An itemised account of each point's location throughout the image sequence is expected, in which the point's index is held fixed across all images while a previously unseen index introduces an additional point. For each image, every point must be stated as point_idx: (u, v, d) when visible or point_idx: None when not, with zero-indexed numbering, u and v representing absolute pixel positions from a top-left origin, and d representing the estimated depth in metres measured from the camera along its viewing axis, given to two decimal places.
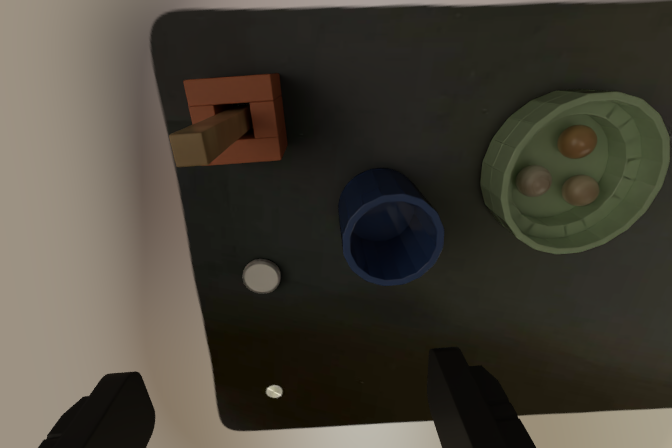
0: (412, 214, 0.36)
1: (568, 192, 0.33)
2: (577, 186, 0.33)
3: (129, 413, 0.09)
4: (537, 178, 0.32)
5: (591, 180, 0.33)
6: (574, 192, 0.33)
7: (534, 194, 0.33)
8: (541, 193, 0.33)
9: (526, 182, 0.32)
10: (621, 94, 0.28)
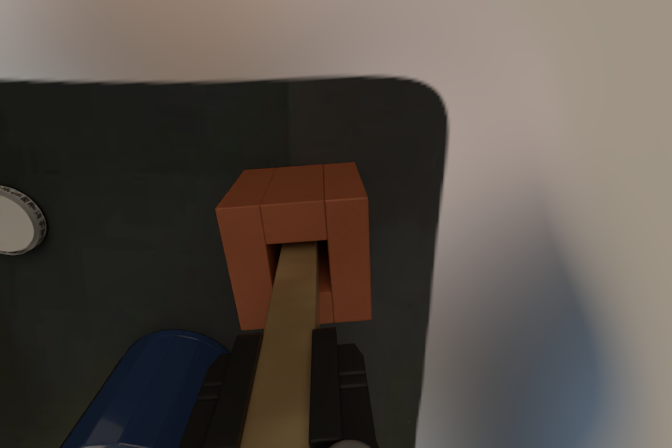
0: None
1: None
2: None
3: None
4: None
5: None
6: None
7: None
8: None
9: None
10: None
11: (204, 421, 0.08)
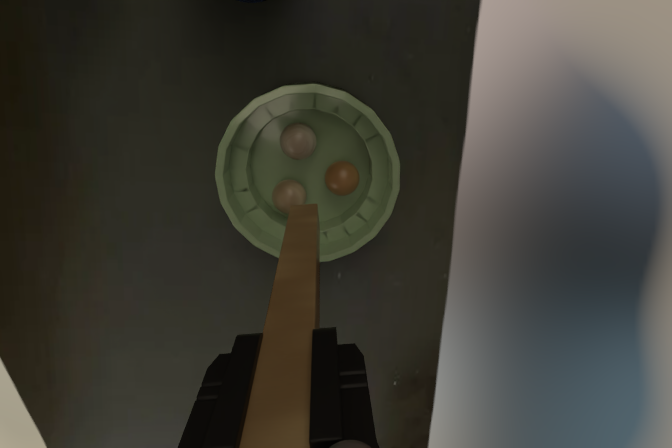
0: None
1: (288, 182, 0.30)
2: (296, 188, 0.30)
3: None
4: (305, 138, 0.28)
5: (303, 201, 0.30)
6: (289, 186, 0.30)
7: (285, 140, 0.28)
8: (287, 147, 0.28)
9: (298, 128, 0.28)
10: (396, 193, 0.28)
11: (204, 421, 0.08)
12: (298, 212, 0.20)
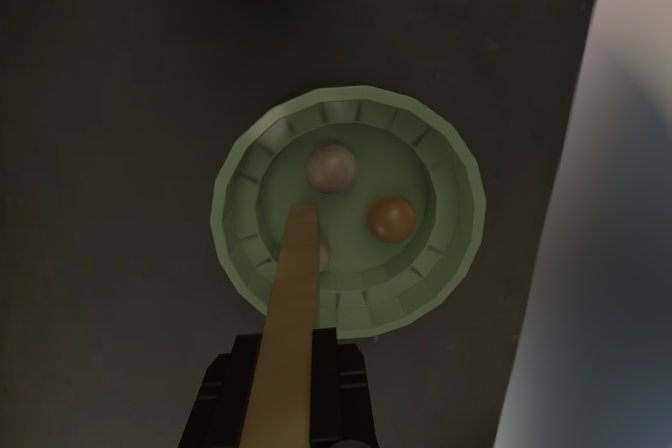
0: None
1: None
2: None
3: None
4: (344, 165, 0.19)
5: (321, 269, 0.22)
6: None
7: (314, 168, 0.19)
8: (316, 179, 0.19)
9: (334, 150, 0.19)
10: (477, 246, 0.19)
11: (203, 421, 0.08)
12: (298, 211, 0.20)
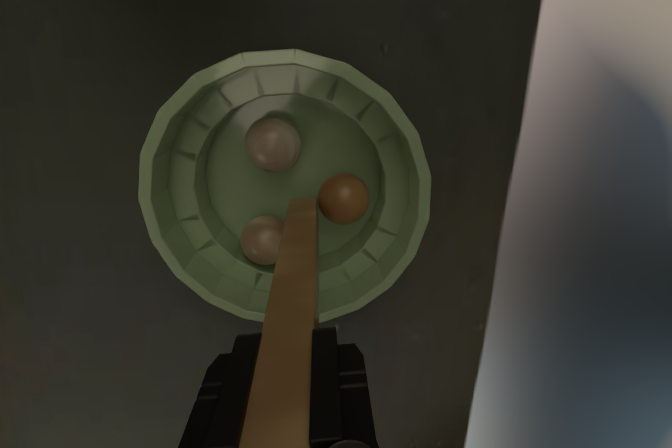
0: None
1: (266, 230, 0.20)
2: (274, 244, 0.20)
3: None
4: (283, 139, 0.18)
5: None
6: (264, 239, 0.20)
7: (251, 142, 0.18)
8: (254, 154, 0.18)
9: (272, 124, 0.18)
10: (425, 224, 0.18)
11: (204, 422, 0.08)
12: (296, 206, 0.19)
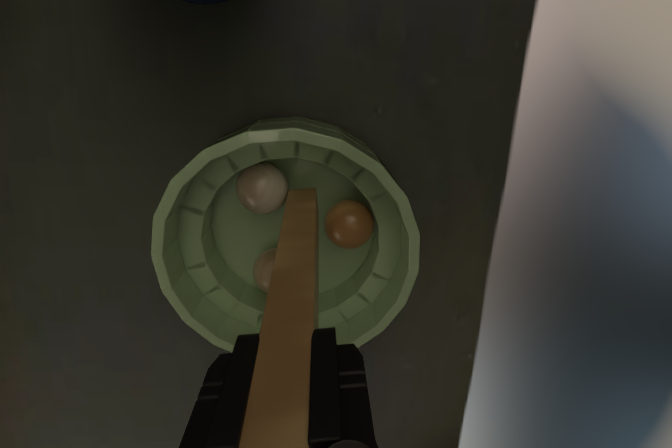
0: None
1: None
2: None
3: None
4: (261, 174, 0.19)
5: None
6: None
7: (237, 178, 0.20)
8: (237, 188, 0.19)
9: (258, 163, 0.20)
10: (414, 277, 0.20)
11: (205, 421, 0.08)
12: (296, 196, 0.19)
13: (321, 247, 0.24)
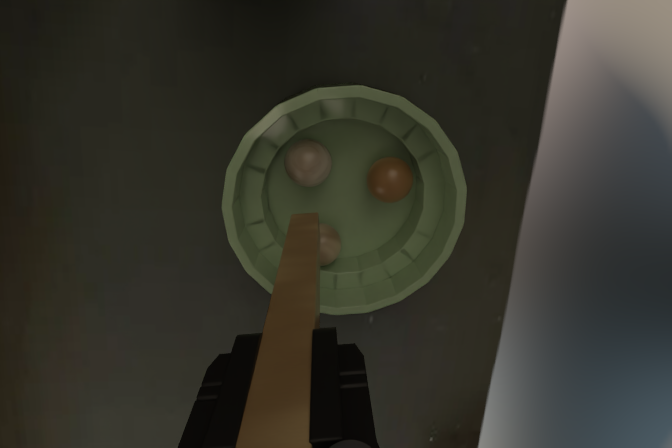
0: None
1: (323, 239, 0.23)
2: (330, 249, 0.23)
3: None
4: (320, 157, 0.21)
5: (334, 259, 0.25)
6: (323, 246, 0.23)
7: (296, 147, 0.21)
8: (292, 156, 0.21)
9: (319, 144, 0.22)
10: (460, 228, 0.21)
11: (203, 421, 0.08)
12: (298, 220, 0.20)
13: (365, 209, 0.25)
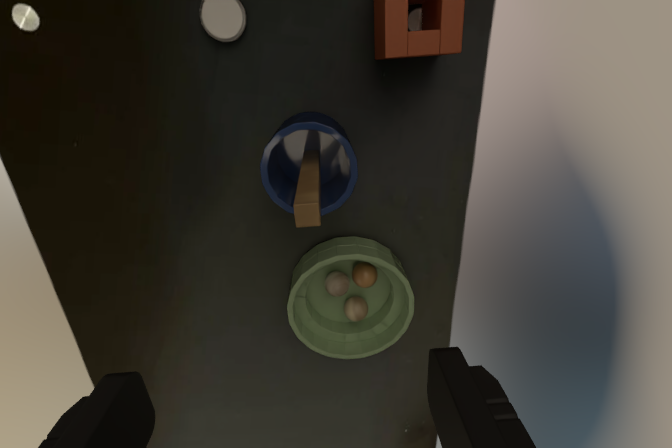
0: None
1: (356, 296, 0.43)
2: None
3: (129, 413, 0.09)
4: (348, 286, 0.41)
5: None
6: (360, 297, 0.43)
7: (336, 285, 0.40)
8: (335, 290, 0.40)
9: (346, 279, 0.41)
10: (411, 315, 0.40)
11: None
12: (308, 152, 0.36)
13: (362, 297, 0.44)
